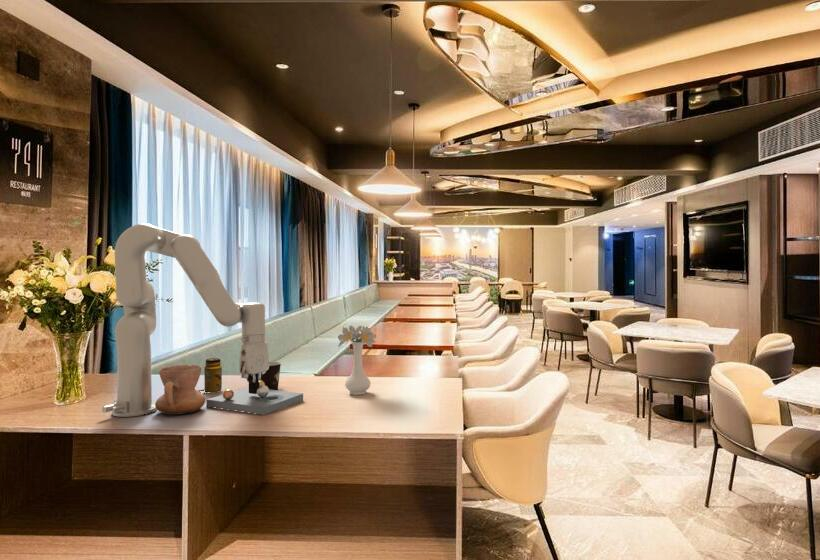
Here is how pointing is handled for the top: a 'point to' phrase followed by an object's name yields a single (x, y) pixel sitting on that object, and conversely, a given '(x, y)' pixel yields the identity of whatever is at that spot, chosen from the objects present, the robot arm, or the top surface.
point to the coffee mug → (272, 376)
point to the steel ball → (262, 391)
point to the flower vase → (357, 357)
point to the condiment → (212, 375)
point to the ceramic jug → (180, 389)
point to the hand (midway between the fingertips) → (254, 393)
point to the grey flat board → (256, 401)
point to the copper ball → (228, 394)
